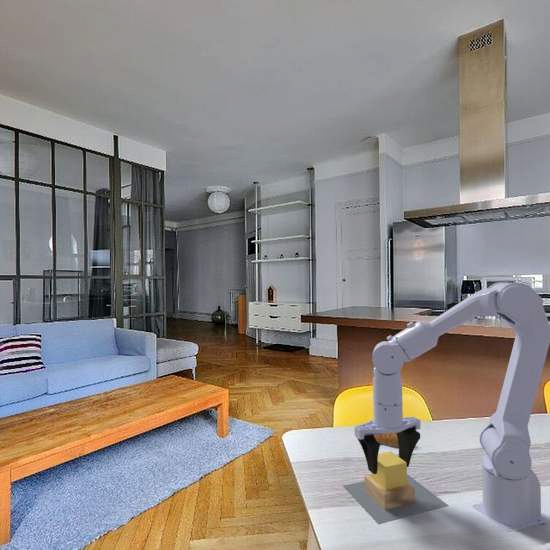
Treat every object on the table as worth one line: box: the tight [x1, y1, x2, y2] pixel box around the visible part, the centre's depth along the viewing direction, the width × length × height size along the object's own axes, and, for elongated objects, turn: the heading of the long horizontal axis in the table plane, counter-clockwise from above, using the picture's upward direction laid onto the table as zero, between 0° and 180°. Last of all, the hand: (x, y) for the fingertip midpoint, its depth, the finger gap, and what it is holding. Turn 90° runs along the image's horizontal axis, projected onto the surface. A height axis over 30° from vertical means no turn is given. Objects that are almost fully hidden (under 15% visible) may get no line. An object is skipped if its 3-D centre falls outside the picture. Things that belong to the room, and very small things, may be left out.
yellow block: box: [370, 451, 408, 490], centre depth 76 cm, size 5×5×4 cm
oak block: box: [364, 474, 415, 510], centre depth 76 cm, size 7×7×3 cm
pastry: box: [374, 433, 399, 449], centre depth 100 cm, size 9×7×4 cm
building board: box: [342, 473, 449, 525], centre depth 76 cm, size 16×13×1 cm
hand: (388, 468), depth 76 cm, fingers open, 7 cm apart
